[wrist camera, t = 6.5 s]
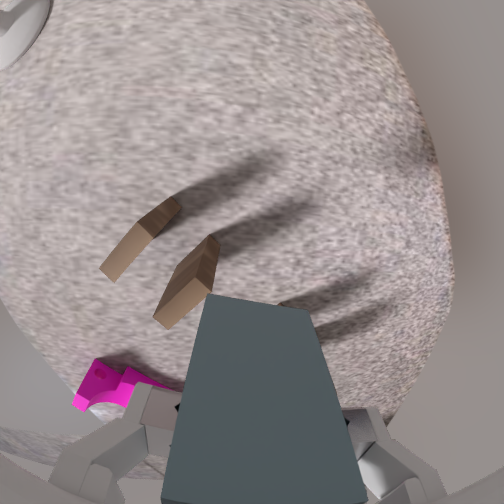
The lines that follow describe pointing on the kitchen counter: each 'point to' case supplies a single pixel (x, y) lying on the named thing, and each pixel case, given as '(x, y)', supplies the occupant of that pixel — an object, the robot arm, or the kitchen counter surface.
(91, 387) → the toy block
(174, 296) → the domino
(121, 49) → the kitchen counter surface
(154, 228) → the domino
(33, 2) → the candlestick
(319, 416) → the domino
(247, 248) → the kitchen counter surface
